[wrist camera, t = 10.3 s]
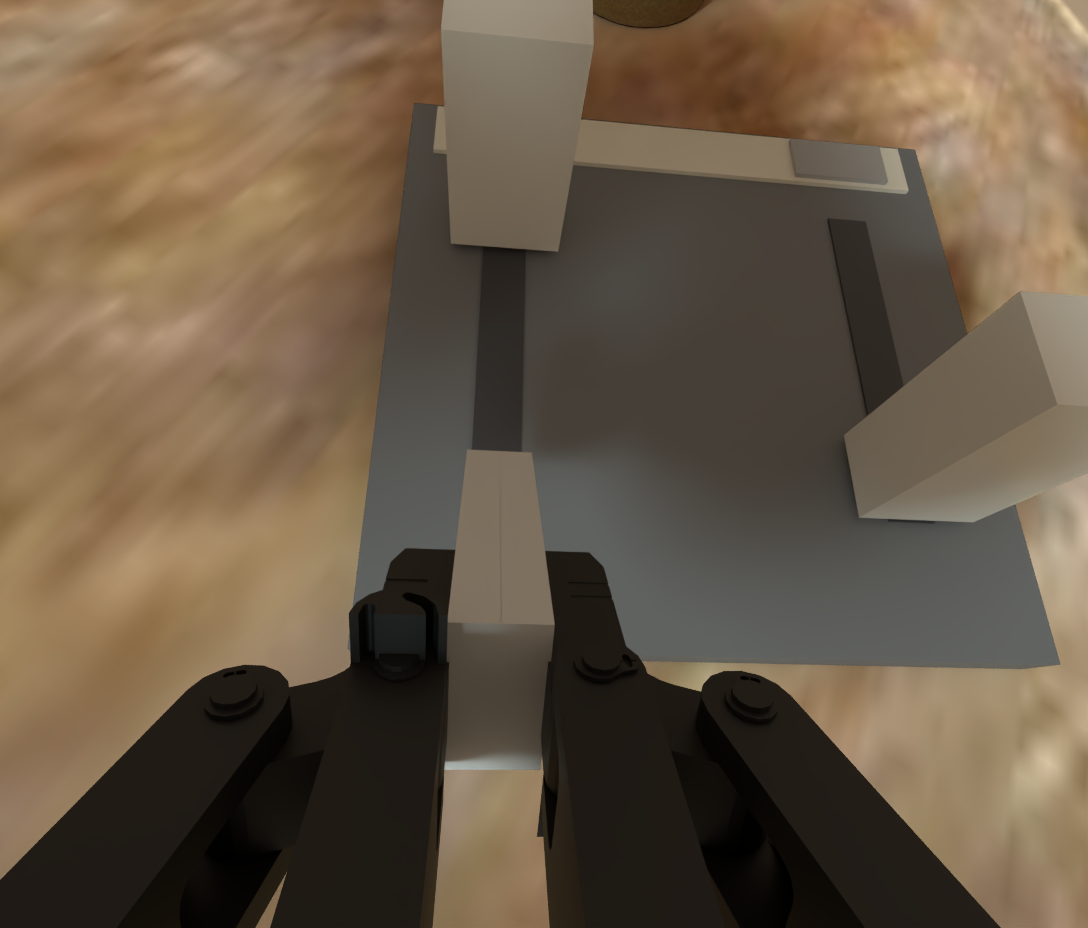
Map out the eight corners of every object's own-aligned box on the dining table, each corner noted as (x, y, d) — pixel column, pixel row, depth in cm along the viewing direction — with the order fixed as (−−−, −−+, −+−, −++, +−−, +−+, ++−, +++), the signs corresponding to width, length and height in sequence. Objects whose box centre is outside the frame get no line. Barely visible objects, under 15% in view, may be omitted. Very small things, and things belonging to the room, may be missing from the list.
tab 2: (972, 522, 22) (1223, 414, 15) (858, 517, 22) (1057, 404, 14) (952, 441, 23) (1175, 302, 16) (843, 435, 23) (1019, 291, 15)
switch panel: (1023, 668, 22) (1071, 662, 20) (356, 654, 20) (345, 646, 18) (895, 176, 31) (920, 142, 29) (417, 133, 29) (413, 94, 27)
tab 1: (558, 251, 25) (594, 45, 17) (450, 243, 24) (440, 29, 17) (558, 190, 26) (592, -27, 18) (456, 182, 25) (448, -44, 18)
